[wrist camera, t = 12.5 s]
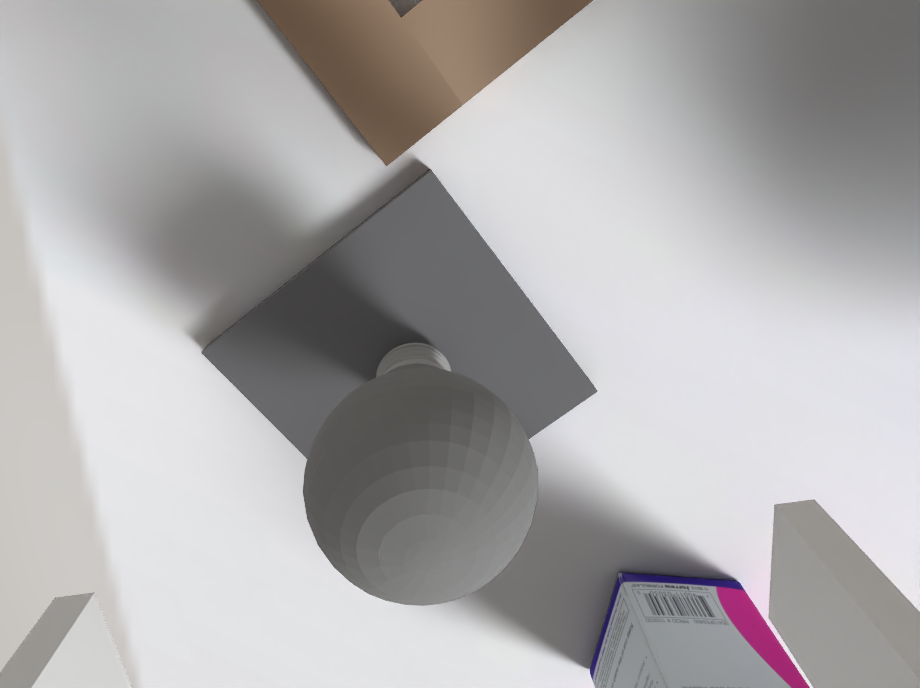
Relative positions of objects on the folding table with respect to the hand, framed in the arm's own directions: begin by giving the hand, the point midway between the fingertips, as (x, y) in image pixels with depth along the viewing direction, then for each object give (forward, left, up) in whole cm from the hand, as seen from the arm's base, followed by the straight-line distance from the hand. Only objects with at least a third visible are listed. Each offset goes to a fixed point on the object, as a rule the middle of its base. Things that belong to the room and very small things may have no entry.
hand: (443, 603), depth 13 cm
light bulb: (0, 0, -12) cm, 12 cm away
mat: (+1, 0, -12) cm, 12 cm away
